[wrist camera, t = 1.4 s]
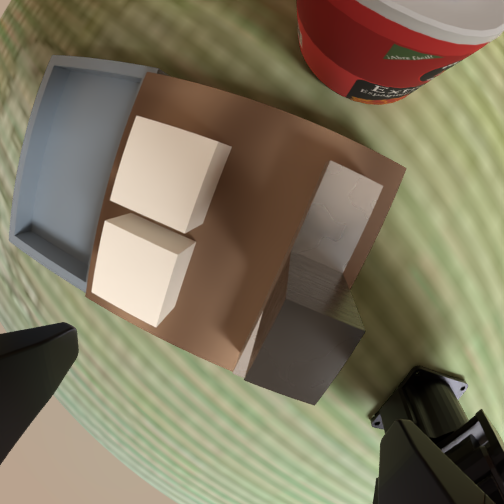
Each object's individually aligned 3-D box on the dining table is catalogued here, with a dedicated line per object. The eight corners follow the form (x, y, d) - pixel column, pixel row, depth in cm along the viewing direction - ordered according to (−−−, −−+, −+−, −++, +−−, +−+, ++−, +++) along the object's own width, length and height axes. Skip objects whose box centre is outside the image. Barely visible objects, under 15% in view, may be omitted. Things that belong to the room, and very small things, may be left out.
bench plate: (386, 168, 16) (406, 168, 13) (290, 360, 20) (288, 392, 17) (172, 86, 17) (147, 71, 13) (113, 278, 21) (85, 296, 17)
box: (175, 79, 16) (158, 68, 14) (111, 284, 21) (93, 297, 18) (72, 61, 17) (52, 54, 14) (28, 234, 21) (8, 240, 19)
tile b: (196, 242, 15) (177, 254, 13) (174, 306, 16) (156, 327, 14) (131, 212, 15) (104, 220, 13) (115, 276, 16) (91, 292, 14)
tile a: (231, 146, 14) (218, 141, 11) (202, 223, 15) (184, 233, 12) (160, 122, 14) (136, 115, 11) (136, 195, 15) (109, 200, 13)
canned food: (354, 131, 16) (432, 76, 5) (271, 33, 15) (236, -89, 4) (441, 75, 14) (545, 12, 3) (361, -14, 13) (393, -124, 2)
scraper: (371, 184, 13) (434, 195, 6) (278, 368, 16) (264, 465, 10) (325, 162, 13) (352, 151, 7) (239, 352, 16) (206, 445, 10)
